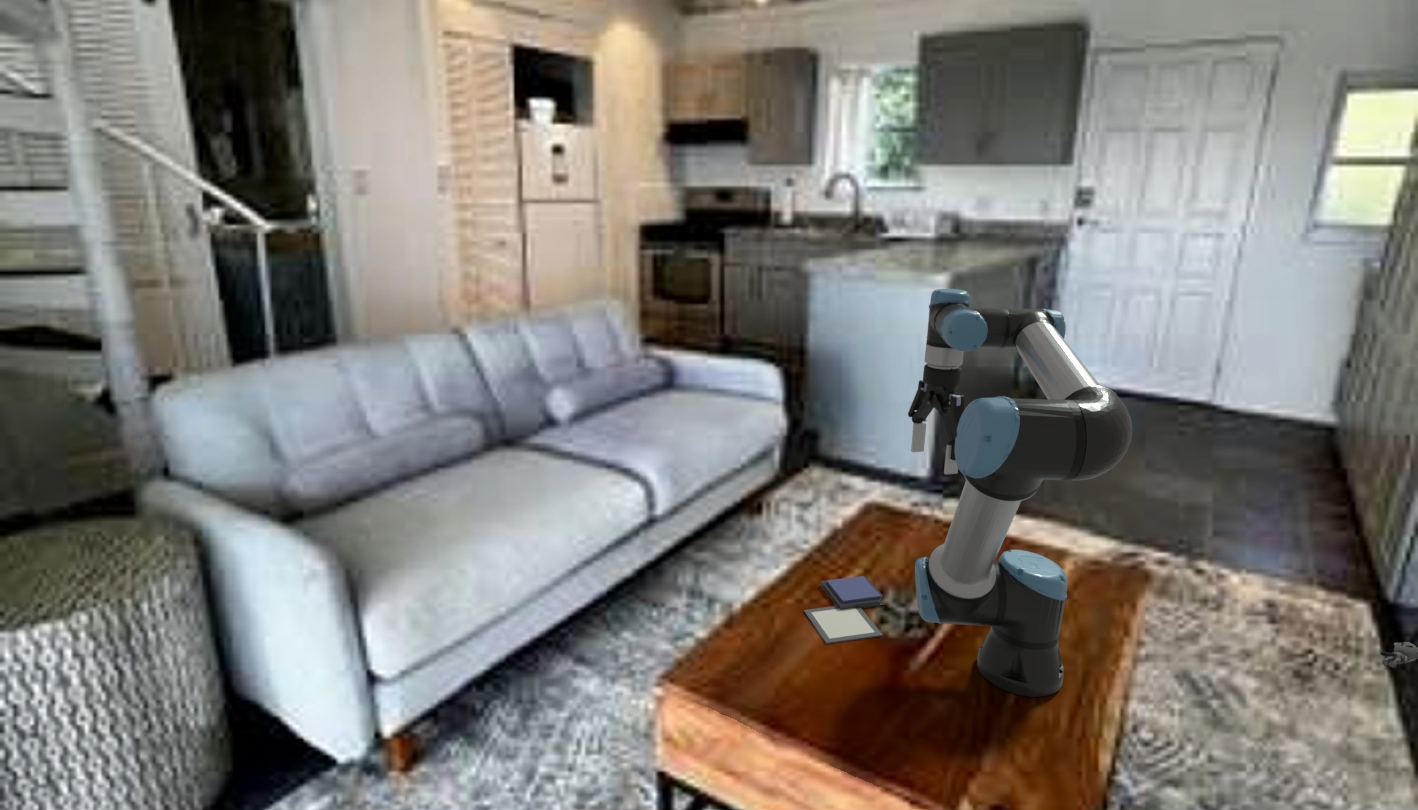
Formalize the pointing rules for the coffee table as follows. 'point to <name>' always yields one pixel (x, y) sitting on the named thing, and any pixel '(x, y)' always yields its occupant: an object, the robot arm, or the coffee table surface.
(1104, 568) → the coffee table surface
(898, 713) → the coffee table surface
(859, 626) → the grey picture frame
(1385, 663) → the grey lumpy piece
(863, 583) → the ink pad
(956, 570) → the robot arm
